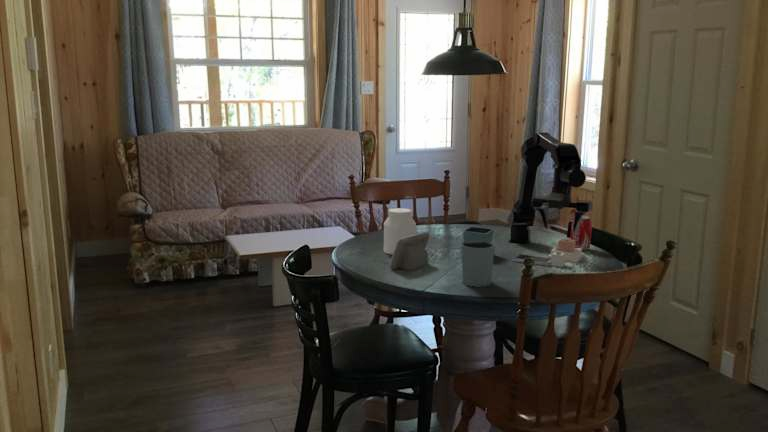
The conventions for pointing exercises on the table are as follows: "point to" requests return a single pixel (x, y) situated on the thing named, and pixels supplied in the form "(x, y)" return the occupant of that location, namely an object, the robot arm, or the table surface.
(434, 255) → the table surface
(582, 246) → the soda can
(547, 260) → the phone
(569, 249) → the block
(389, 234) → the jar
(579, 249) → the outlet plate
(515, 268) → the table surface
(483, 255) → the drinking glass
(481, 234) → the flower pot
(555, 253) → the grey cube with tab
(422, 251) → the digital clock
